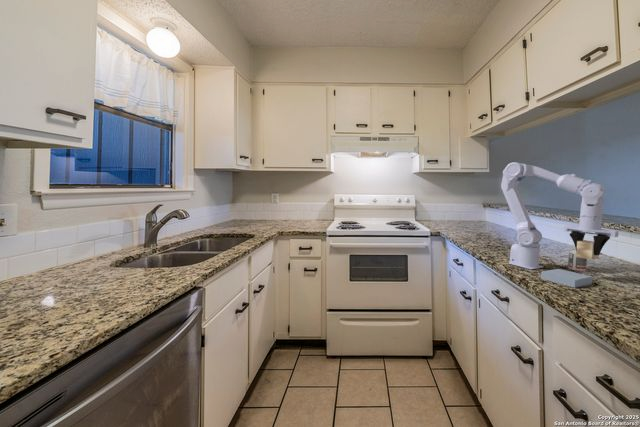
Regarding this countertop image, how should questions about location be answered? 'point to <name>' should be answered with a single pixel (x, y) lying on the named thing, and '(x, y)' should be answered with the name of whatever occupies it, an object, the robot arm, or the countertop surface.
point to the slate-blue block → (566, 277)
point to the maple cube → (586, 250)
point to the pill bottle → (576, 261)
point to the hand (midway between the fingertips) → (587, 253)
